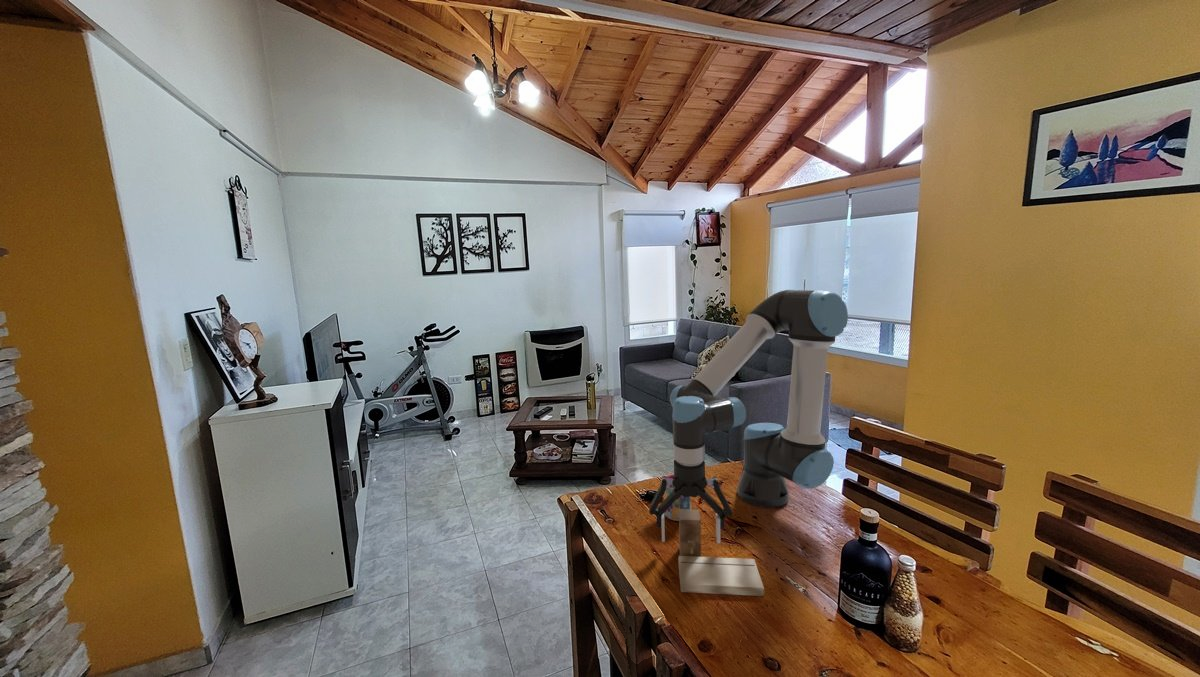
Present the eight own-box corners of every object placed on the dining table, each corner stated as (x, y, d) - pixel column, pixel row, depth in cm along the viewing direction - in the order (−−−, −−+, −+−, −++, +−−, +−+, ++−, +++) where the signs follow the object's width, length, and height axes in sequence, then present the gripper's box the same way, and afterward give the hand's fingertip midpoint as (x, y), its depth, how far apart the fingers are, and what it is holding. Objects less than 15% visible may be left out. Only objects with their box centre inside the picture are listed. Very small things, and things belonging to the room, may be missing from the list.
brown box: (699, 549, 116) (698, 509, 114) (702, 572, 107) (702, 529, 105) (679, 548, 117) (678, 509, 115) (681, 571, 108) (680, 529, 106)
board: (753, 566, 109) (754, 558, 108) (763, 596, 99) (764, 587, 98) (678, 563, 111) (678, 555, 110) (680, 591, 101) (680, 583, 101)
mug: (682, 528, 126) (682, 492, 124) (656, 516, 132) (655, 482, 131) (705, 511, 134) (705, 477, 132) (679, 500, 141) (679, 468, 139)
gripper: (738, 453, 112) (738, 532, 115) (638, 453, 115) (641, 529, 119) (744, 467, 105) (744, 550, 108) (637, 466, 108) (640, 546, 111)
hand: (690, 539), depth 113 cm, fingers open, 13 cm apart
